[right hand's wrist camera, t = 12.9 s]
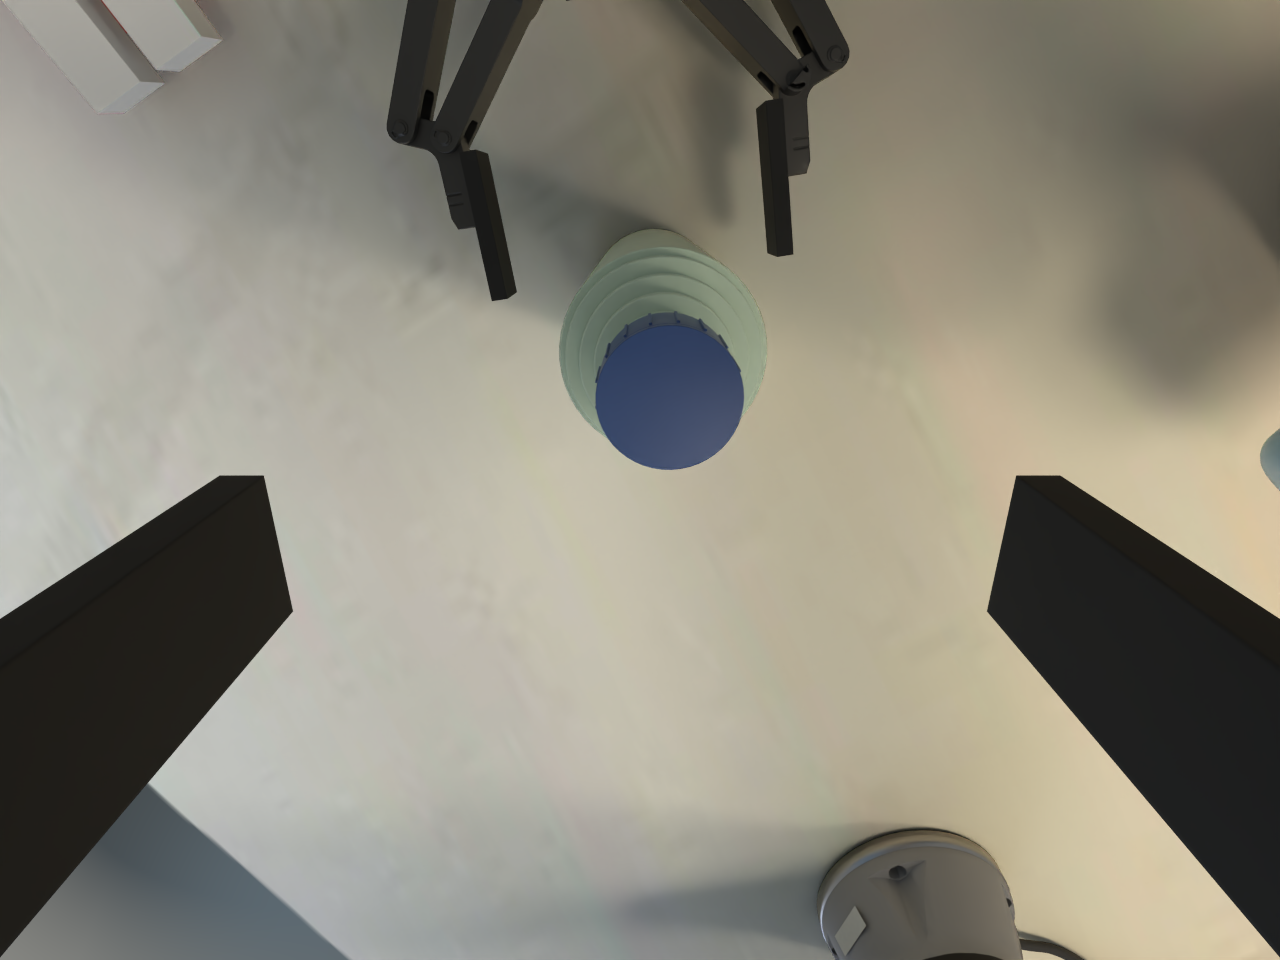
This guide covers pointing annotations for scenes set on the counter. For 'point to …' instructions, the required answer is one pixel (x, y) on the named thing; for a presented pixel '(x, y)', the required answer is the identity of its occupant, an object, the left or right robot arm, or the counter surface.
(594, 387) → the bottle
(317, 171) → the counter surface
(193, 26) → the toy
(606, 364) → the cap
